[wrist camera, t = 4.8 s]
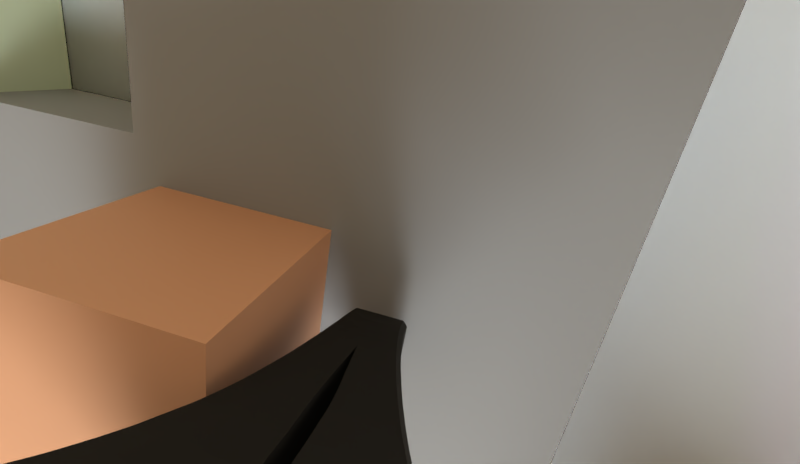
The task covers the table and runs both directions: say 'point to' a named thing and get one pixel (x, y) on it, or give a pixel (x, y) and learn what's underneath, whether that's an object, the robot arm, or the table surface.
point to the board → (398, 167)
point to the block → (146, 312)
